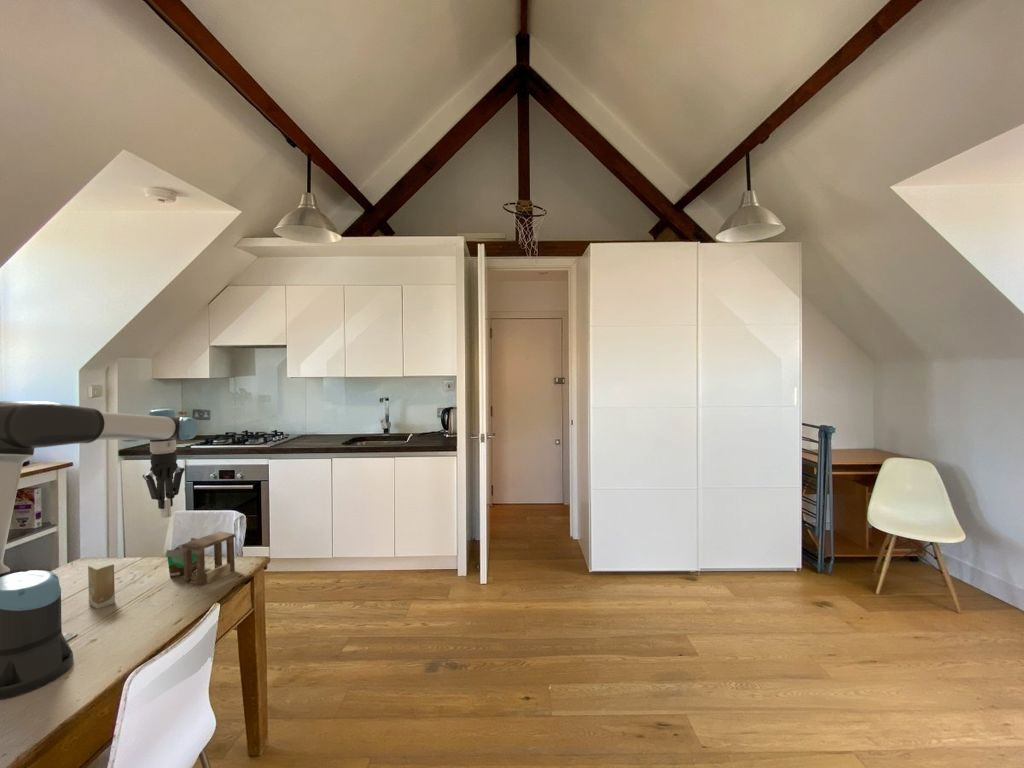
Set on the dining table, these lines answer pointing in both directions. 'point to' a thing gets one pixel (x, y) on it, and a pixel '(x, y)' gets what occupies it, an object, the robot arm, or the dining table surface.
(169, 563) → the food container
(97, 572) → the skincare box
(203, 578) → the small wooden bench
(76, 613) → the dining table surface
